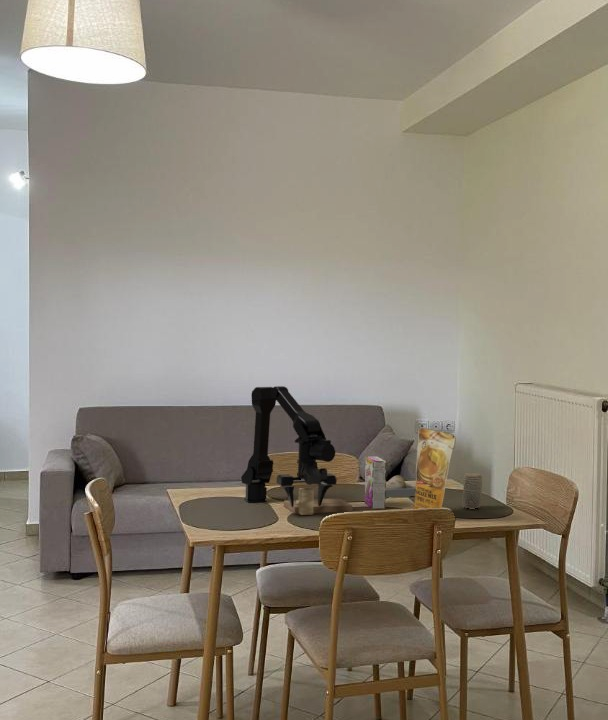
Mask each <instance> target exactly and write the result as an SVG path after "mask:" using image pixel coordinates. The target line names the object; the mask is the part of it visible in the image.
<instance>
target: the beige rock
mask: <svg viewBox="0 0 608 720" xmlns="http://www.w3.org/2000/svg"><path fill="white" fill-rule="evenodd" d="M406 484H407V483H406V480H405V479H404V478H403V476H401V475H400V474H397V475H394V476H392V477H391V478H390V479H389V480H388V481H386V489H407V487H406Z"/></svg>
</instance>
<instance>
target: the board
mask: <svg viewBox="0 0 608 720" xmlns="http://www.w3.org/2000/svg"><path fill="white" fill-rule="evenodd" d="M296 500H297V499H294V505H293V507H291V504H290V501H289V499H288V500H284V499H283V507H284V508H286V509H287V510H289V511H290V512H291V513H293V514H295V515H300V514H299V513H298V509H299V505H298V504H297V503H296ZM346 511H348V512H353V505H352V504H350V503H349V502H347V501H345V500H343V499H341V498H323V500H322V503H321V506H318V498H316V499H315V498H314V502H313V514H316V513H317V514H320V513H341V512H342V513H344V512H346Z"/></svg>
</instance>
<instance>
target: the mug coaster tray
mask: <svg viewBox="0 0 608 720" xmlns="http://www.w3.org/2000/svg"><path fill="white" fill-rule="evenodd" d="M406 487H407V489H386V495H385V497H399V498H410V497H409V496H415V492H416V486H414V485H411V484H408V483H406Z"/></svg>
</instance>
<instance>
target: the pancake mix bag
mask: <svg viewBox="0 0 608 720" xmlns="http://www.w3.org/2000/svg"><path fill="white" fill-rule="evenodd" d="M456 440H457V439H456V436H455V435H454V434H453V433H450V432H446V431H440V430H437V429H432V428H425V427H420V428H417V444H416V445H417V446H416V447H417V450H416V462H415V487H416V492H415V497H414V506H413V510H414V509H418V508H441V509H442V506H443V502H444V499H445V498H444V497H445V490H446V486H447V481H448V476H449V472H450V468H451V464H452V463H451V462H452V459H453V458H452V457H453V454H454V450H455V447H456V443H457V442H456Z"/></svg>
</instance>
